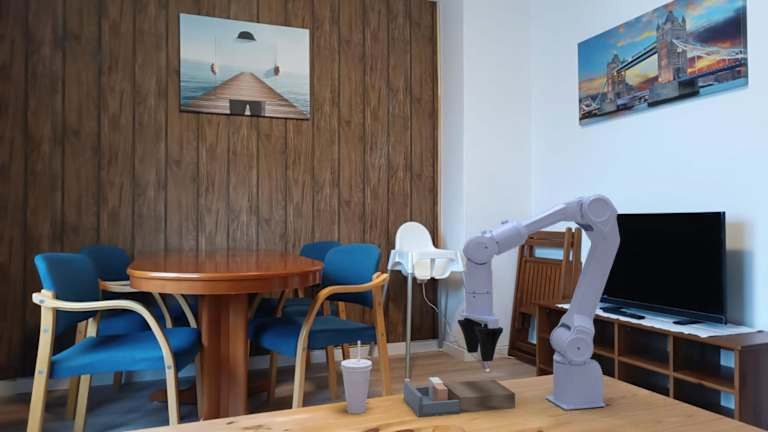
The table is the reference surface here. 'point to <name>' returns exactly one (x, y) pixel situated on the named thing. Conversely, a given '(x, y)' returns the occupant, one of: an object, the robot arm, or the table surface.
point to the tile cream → (431, 380)
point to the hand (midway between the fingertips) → (479, 356)
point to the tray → (428, 402)
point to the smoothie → (356, 382)
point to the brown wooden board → (480, 395)
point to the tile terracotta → (439, 392)
